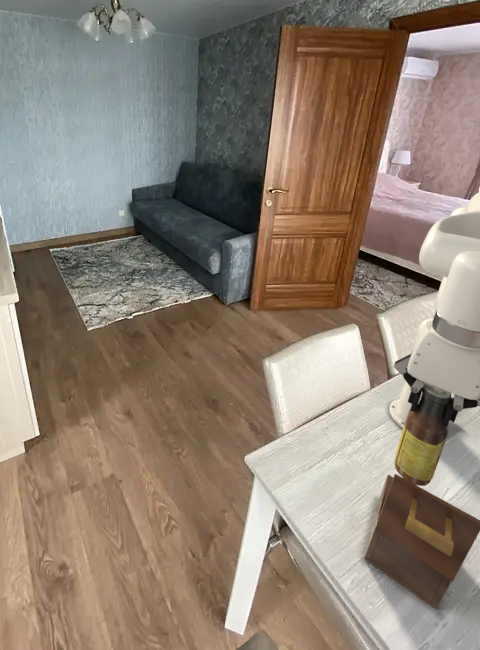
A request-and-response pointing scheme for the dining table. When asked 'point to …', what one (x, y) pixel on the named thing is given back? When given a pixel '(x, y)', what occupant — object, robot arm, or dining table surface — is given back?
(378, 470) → the dining table surface
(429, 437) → the sauce bottle
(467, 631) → the dining table surface
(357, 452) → the dining table surface
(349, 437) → the dining table surface
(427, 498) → the box lid
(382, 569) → the storage box
